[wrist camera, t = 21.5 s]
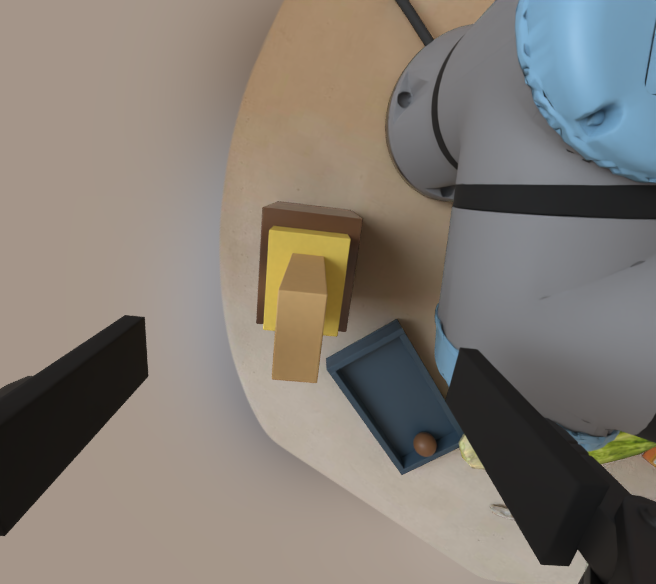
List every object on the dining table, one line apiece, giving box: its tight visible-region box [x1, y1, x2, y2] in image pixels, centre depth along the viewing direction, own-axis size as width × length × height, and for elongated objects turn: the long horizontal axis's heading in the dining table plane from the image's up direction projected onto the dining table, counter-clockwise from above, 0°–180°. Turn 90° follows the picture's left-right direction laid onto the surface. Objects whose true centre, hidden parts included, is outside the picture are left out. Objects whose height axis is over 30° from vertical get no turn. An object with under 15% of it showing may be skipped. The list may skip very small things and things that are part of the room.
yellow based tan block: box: [263, 226, 351, 383], centre depth 22 cm, size 8×6×12 cm
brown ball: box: [413, 432, 437, 457], centre depth 43 cm, size 3×3×3 cm
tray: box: [326, 319, 464, 475], centre depth 42 cm, size 20×10×3 cm, turn 32°
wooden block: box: [256, 201, 363, 332], centre depth 32 cm, size 10×8×10 cm
